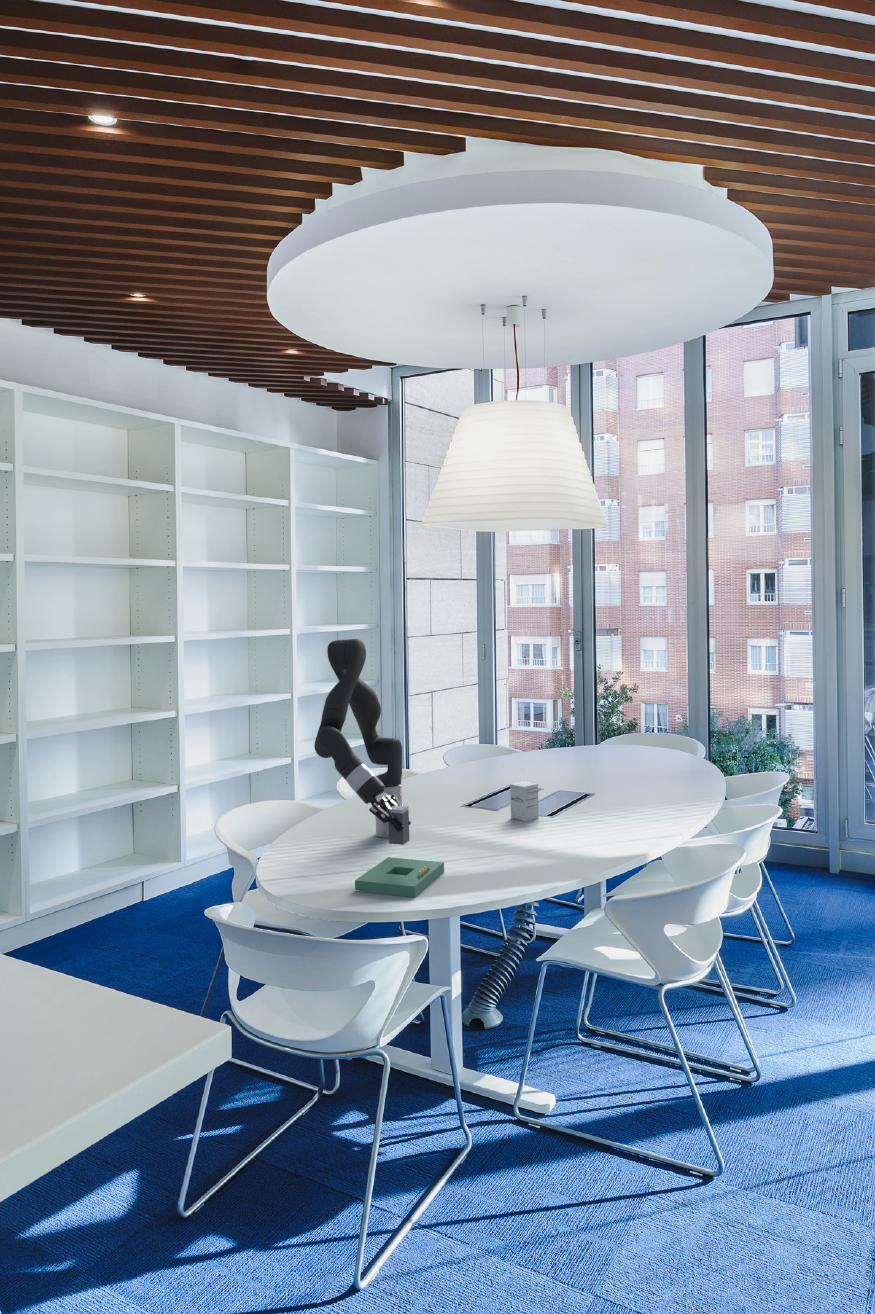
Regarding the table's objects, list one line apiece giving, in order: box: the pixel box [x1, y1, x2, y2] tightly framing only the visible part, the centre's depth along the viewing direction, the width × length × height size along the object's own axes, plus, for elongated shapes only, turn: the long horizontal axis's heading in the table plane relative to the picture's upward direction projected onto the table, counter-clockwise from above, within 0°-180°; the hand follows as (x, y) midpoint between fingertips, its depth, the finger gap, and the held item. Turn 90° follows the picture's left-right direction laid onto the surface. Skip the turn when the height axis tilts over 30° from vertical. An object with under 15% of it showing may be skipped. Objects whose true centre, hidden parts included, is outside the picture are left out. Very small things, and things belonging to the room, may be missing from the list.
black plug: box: [388, 805, 410, 846], centre depth 249 cm, size 4×4×10 cm
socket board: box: [354, 857, 445, 898], centre depth 250 cm, size 22×18×4 cm
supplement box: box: [509, 780, 540, 822], centre depth 314 cm, size 7×7×13 cm
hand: (405, 827), depth 248 cm, fingers closed on black plug, 4 cm apart
